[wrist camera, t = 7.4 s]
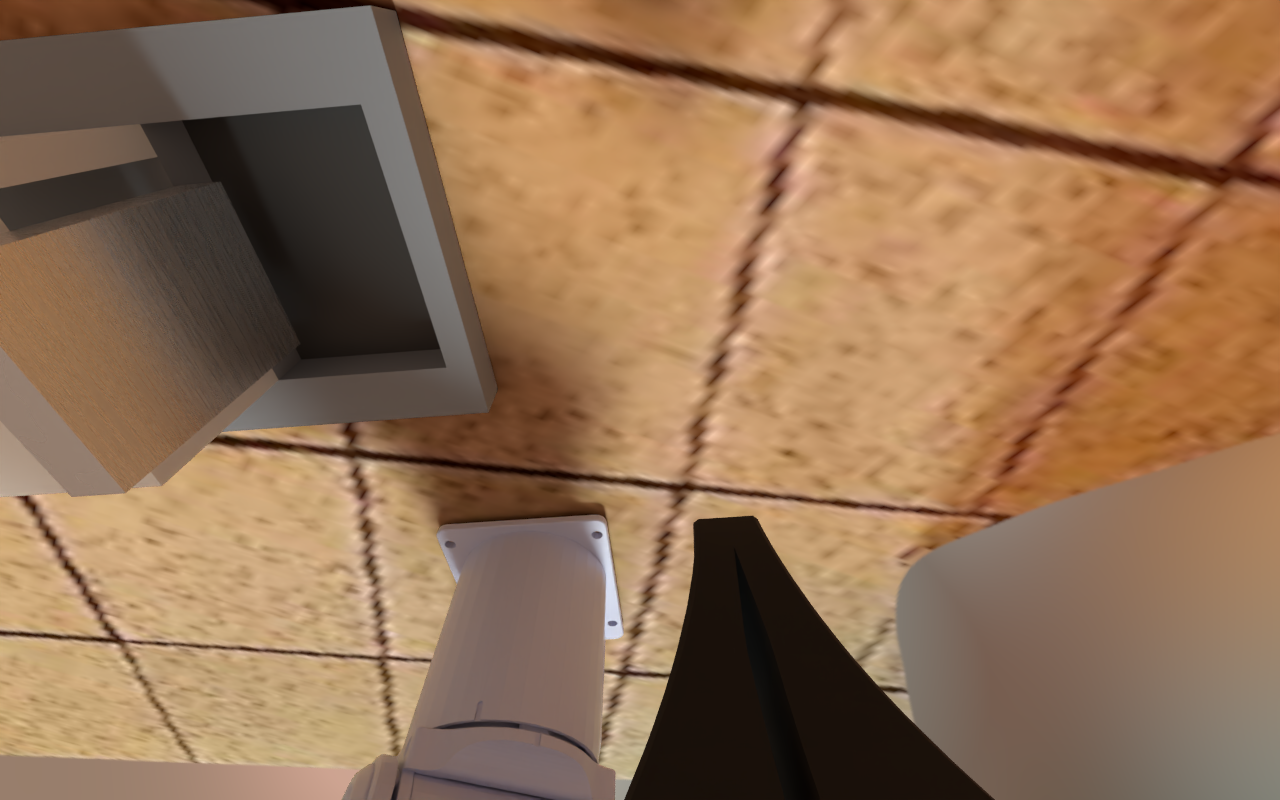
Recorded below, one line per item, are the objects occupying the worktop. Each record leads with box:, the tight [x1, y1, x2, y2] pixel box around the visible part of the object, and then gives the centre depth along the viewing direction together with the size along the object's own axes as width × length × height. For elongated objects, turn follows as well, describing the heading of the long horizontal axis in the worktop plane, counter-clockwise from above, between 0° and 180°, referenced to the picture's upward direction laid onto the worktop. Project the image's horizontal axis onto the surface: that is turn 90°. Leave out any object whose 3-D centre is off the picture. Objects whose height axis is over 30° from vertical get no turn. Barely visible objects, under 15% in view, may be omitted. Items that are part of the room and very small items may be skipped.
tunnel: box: [0, 124, 278, 497], centre depth 14 cm, size 8×6×5 cm
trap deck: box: [0, 5, 498, 432], centre depth 17 cm, size 12×22×2 cm, turn 94°
